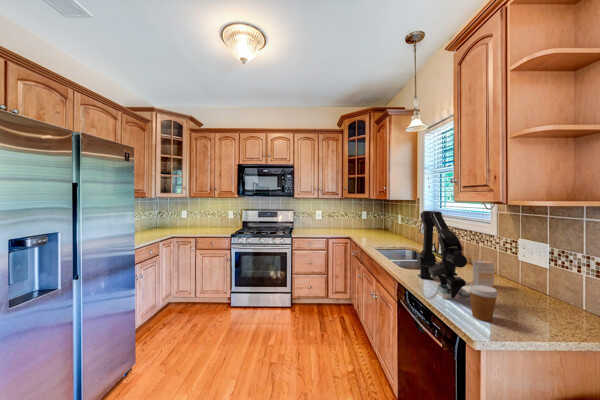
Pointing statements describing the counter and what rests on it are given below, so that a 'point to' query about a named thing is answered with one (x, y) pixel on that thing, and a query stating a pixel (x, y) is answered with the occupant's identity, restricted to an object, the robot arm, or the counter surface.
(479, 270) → the supplement box
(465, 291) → the stand
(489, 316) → the disposable coffee cup
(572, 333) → the counter surface
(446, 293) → the block
